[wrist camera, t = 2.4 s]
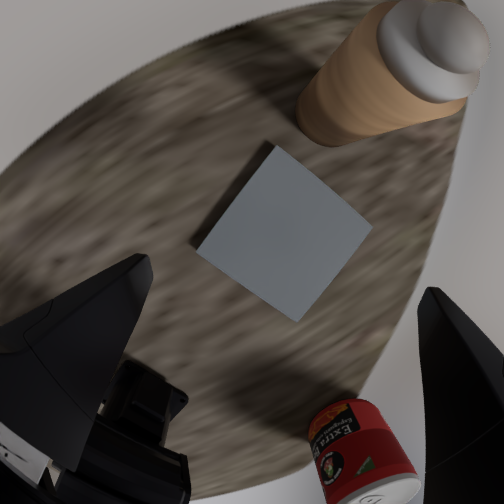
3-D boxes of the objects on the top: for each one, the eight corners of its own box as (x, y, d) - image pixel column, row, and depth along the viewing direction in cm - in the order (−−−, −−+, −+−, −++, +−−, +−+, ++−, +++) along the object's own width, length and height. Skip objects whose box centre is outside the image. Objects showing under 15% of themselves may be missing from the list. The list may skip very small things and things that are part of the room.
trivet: (294, 318, 23) (296, 322, 22) (196, 249, 21) (195, 252, 20) (368, 225, 21) (373, 227, 21) (275, 146, 20) (276, 145, 19)
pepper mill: (336, 161, 20) (506, 138, 5) (281, 116, 19) (378, -5, 4) (371, 113, 20) (533, 53, 5) (320, 70, 19) (436, -54, 4)
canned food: (334, 388, 25) (377, 478, 14) (391, 403, 26) (439, 476, 15) (291, 440, 26) (311, 527, 15) (349, 450, 27) (379, 523, 16)
